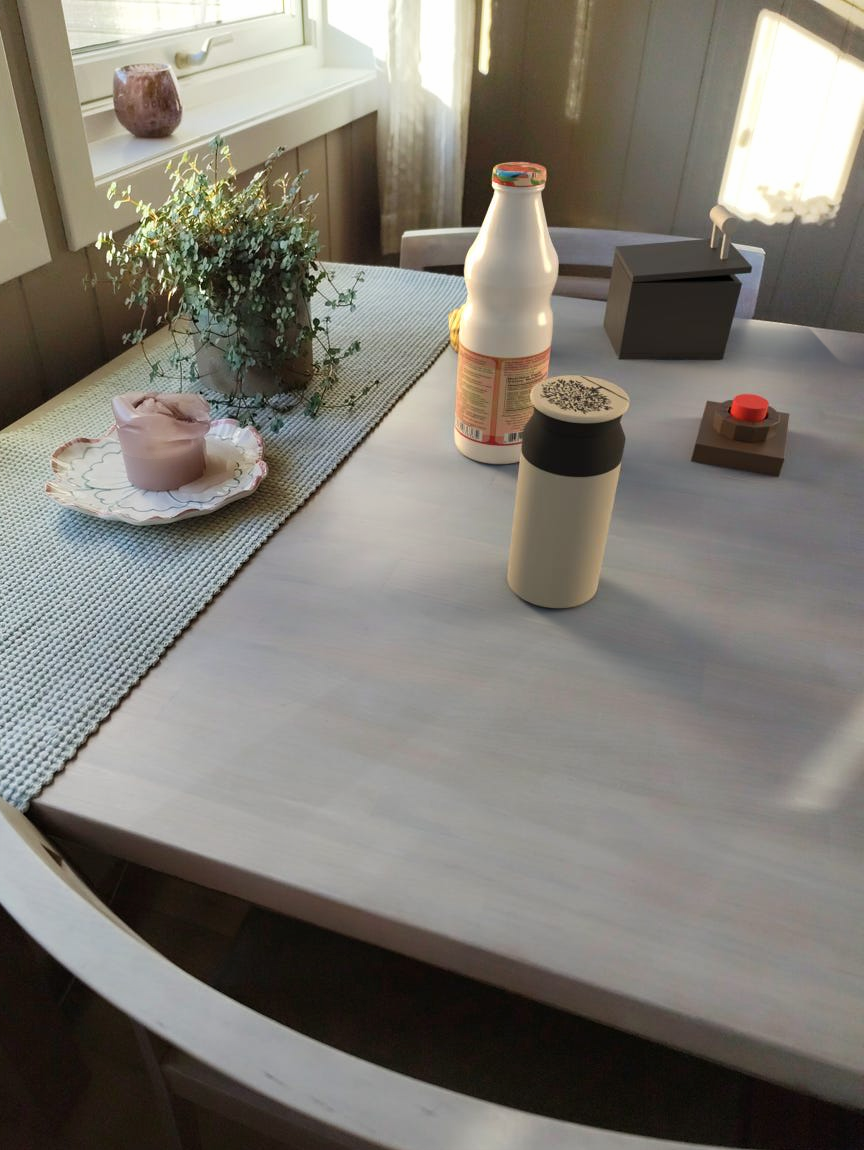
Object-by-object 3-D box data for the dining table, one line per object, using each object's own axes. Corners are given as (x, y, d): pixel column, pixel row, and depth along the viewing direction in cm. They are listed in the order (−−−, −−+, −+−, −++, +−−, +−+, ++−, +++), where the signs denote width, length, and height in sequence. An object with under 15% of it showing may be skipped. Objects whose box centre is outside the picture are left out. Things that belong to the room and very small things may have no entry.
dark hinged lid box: (700, 325, 125) (716, 253, 119) (723, 359, 117) (742, 283, 110) (603, 325, 126) (614, 252, 119) (618, 359, 117) (631, 283, 110)
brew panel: (702, 417, 104) (710, 385, 102) (784, 431, 102) (794, 398, 99) (690, 461, 97) (699, 428, 94) (778, 477, 94) (789, 443, 91)
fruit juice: (443, 458, 97) (455, 176, 79) (465, 420, 104) (482, 152, 86) (529, 472, 95) (562, 184, 77) (546, 432, 102) (580, 159, 83)
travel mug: (538, 621, 76) (565, 428, 64) (490, 571, 82) (507, 384, 70) (615, 596, 79) (655, 406, 67) (563, 549, 84) (592, 366, 72)
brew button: (731, 406, 99) (735, 391, 97) (765, 411, 98) (770, 396, 96) (728, 420, 96) (732, 405, 95) (763, 426, 95) (767, 411, 94)
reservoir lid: (725, 243, 118) (732, 196, 115) (751, 273, 110) (760, 223, 106) (614, 252, 119) (618, 205, 115) (632, 282, 110) (636, 233, 107)
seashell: (503, 380, 122) (524, 323, 121) (502, 365, 115) (525, 305, 114) (436, 357, 123) (457, 301, 122) (431, 341, 116) (453, 282, 115)
